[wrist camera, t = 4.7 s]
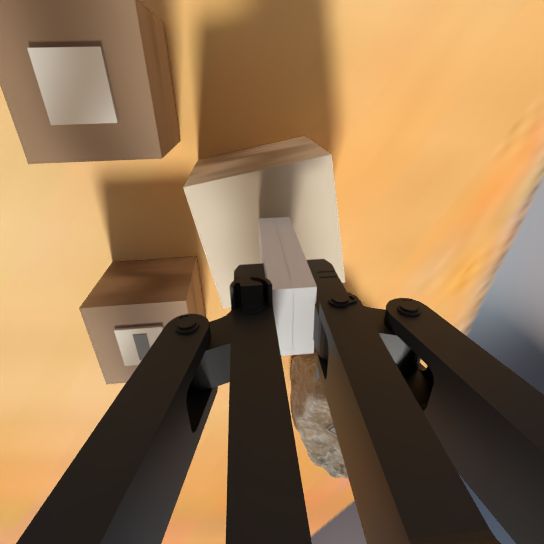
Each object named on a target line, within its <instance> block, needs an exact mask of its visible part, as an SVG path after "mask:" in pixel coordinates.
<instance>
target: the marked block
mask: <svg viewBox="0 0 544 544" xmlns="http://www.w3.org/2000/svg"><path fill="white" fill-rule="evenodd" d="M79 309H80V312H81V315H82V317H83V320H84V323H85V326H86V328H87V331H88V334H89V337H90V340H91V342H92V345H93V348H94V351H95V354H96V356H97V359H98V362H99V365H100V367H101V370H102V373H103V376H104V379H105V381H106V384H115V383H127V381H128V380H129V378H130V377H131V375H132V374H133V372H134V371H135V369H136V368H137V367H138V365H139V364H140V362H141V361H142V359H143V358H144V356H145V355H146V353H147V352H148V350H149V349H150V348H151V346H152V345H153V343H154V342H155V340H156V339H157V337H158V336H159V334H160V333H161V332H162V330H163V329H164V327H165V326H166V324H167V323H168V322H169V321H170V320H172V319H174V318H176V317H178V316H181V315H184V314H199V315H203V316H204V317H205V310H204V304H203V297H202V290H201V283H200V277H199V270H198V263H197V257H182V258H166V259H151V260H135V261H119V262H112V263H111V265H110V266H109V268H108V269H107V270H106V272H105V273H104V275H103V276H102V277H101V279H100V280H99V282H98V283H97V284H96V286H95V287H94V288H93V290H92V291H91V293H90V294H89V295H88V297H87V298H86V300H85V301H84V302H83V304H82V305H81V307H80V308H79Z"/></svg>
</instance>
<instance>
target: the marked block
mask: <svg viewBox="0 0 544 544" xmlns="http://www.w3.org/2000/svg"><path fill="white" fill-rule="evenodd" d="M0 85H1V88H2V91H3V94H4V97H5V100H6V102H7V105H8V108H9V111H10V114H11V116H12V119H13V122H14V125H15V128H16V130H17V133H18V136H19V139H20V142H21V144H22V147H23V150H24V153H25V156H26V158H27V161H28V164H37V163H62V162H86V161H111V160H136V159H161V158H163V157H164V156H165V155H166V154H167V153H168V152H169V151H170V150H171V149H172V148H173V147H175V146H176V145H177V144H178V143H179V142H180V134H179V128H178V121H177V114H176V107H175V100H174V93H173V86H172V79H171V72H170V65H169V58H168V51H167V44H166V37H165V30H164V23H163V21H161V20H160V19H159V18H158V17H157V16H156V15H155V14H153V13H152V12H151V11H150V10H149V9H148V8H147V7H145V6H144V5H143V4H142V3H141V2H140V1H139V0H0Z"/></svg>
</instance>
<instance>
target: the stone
mask: <svg viewBox="0 0 544 544" xmlns="http://www.w3.org/2000/svg"><path fill="white" fill-rule="evenodd" d="M316 360H317V349H316V347H314V353H312V354H299V355H297V356H295V357H294V358H293V359H292V362H291V370H290V380H291V397H290V399H291V412H292V418H293V421H294V425H295V428H296V429H297V430H298V432H299V433H300V436H301V439H302V441H303V443H304V445H305V447H306V448H307V453H308V456H309V457H310V459H311V461H312V462H313V463H314V464H315V465H317V466H320V467H322V468H324V469H325V470H326V471H327V472H328V473H329V474H330V476H332V477H334V478H340V477H344V478H348V474H347V470H346V467H345V463H344V460H343V456H342V453H341V449H340V446H339V442H338V438H337V435H336V431H335V428H334V424H333V421H332V417H331V413H330V410H329V406H328V403H327V399H326V396H325V392H324V388H323V385H322V381H321V378H320V375H319V380H316Z"/></svg>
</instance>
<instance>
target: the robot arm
mask: <svg viewBox="0 0 544 544" xmlns="http://www.w3.org/2000/svg"><path fill="white" fill-rule="evenodd" d="M258 225H259V248H260V263H259V264H243V265H239V266H238V267H237V268H236V269H235V270H234V281H233V282H232V283H231V284H230V287H229V288H230V299H231V311H230V313H228V314H227V315H226V316H224V317H222V318H220V319H217V320H214V321H211V322H209V321H208V319H207V318H206V317H204V316H203V315H199V314H184V315H181V316H178V317H176V318H174V319H172V320H170V321H169V322H168V323H167V324H166V326H165V327H164V329H163V330H162V332H161V333H160V334H159V336H158V337H157V339H156V340H155V342H154V343H153V345H152V346H151V348H150V349H149V350H148V352H147V353H146V355H145V356H144V358H143V359H142V361H141V362H140V364H139V365H138V367H137V368H136V369H135V371H134V372H133V374H132V375H131V377H130V378H129V380H128V381H127V383H126V384H125V386H124V387H123V388H122V390H121V391H120V393H119V394H118V396H117V397H116V399H115V400H114V402H113V403H112V405H111V406H110V407H109V409H108V410H107V412H106V413H105V415H104V416H103V418H102V419H101V421H100V422H99V423H98V425H97V426H96V428H95V429H94V431H93V432H92V434H91V435H90V437H89V438H88V440H87V441H86V442H85V444H84V445H83V447H82V448H81V450H80V451H79V453H78V454H77V456H76V457H75V459H74V460H73V461H72V463H71V464H70V466H69V467H68V469H67V470H66V472H65V473H64V475H63V476H62V477H61V479H60V480H59V482H58V483H57V485H56V486H55V488H54V489H53V491H52V492H51V494H50V495H49V496H48V498H47V499H46V501H45V502H44V504H43V505H42V507H41V508H40V510H39V511H38V513H37V514H36V515H35V517H34V518H33V520H32V521H31V523H30V524H29V526H28V527H27V529H26V530H25V532H24V533H23V534H22V536H21V537H20V539H19V540H18V542H17V543H16V544H161V543H162V540H163V537H164V534H165V532H166V529H167V526H168V524H169V521H170V518H171V515H172V513H173V510H174V507H175V505H176V502H177V499H178V496H179V494H180V491H181V488H182V486H183V483H184V480H185V478H186V475H187V472H188V469H189V467H190V464H191V461H192V459H193V456H194V453H195V450H196V448H197V445H198V442H199V440H200V437H201V434H202V431H203V429H204V426H205V423H206V421H207V418H208V415H209V412H210V410H211V407H212V404H213V402H214V399H215V396H216V394H217V389H218V386H219V385H222V384H225V383H228V382H230V392H229V434H228V475H227V517H226V544H312V543H311V537H310V530H309V524H308V518H307V512H306V506H305V500H304V494H303V488H302V482H301V476H300V470H299V463H298V457H297V451H296V445H295V439H294V433H293V427H292V421H291V415H290V409H289V402H288V396H287V390H286V384H285V378H284V372H283V366H282V360H281V356H286V355H299V354H312V353H314V343H315V346H316V349H317V360H316V380H319V375H320V378H321V381H322V385H323V388H324V392H325V396H326V399H327V403H328V406H329V410H330V413H331V417H332V421H333V424H334V428H335V431H336V435H337V438H338V442H339V446H340V449H341V453H342V456H343V460H344V463H345V467H346V470H347V474H348V478H349V481H350V485H351V488H352V492H353V495H354V499H355V503H356V506H357V510H358V513H359V517H360V520H361V524H362V528H363V531H364V535H365V538H366V542H367V544H501V543H500V542H499V541H498V540H497V539H496V538H495V536H494V535H493V533H492V532H491V530H490V529H489V527H488V525H487V523H486V522H485V520H484V518H483V516H482V515H481V513H480V511H479V509H478V508H477V506H476V504H475V502H474V501H473V499H472V497H471V495H470V494H469V492H468V490H467V489H466V486H465V485H464V483H463V481H462V479H461V478H460V476H461V477H462V478H463V479H464V481H465V482H466V483H467V484H468V485H469V487H470V488H471V489H472V490H473V491H474V493H475V494H476V495H477V496H478V498H479V499H480V500H481V501H482V502H483V504H484V505H485V506H486V507H487V508H488V510H489V511H490V512H491V513H492V515H493V516H494V517H495V518H496V519H497V521H498V522H499V523H500V524H501V525H502V527H503V528H504V529H505V530H506V532H507V533H508V534H509V535H510V536H511V538H512V539H513V540H514V541H515V542H516V544H544V395H543V394H542V393H540V392H539V391H538V390H536V389H535V388H534V387H532V386H531V385H530V384H529V383H527V382H526V381H525V380H523V379H522V378H521V377H519V376H518V375H517V374H515V373H514V372H513V371H512V370H510V369H509V368H508V367H506V366H505V365H504V364H502V363H501V362H500V361H498V360H497V359H495V358H494V357H493V356H492V355H490V354H489V353H488V352H487V351H485V350H484V349H482V348H481V347H480V346H479V345H477V344H476V343H475V342H473V341H472V340H471V339H469V338H468V337H467V336H465V335H464V334H463V333H462V332H460V331H459V330H458V329H456V328H455V327H454V326H452V325H451V324H450V323H448V322H447V321H446V320H444V319H443V318H442V317H440V316H439V315H438V314H437V313H435V312H434V311H433V310H431V309H430V308H429V307H427V306H426V305H424V304H423V303H421V302H419V301H416V300H413V299H409V298H398V299H393V300H391V301H389V302H388V303H387V305H386V310H383V309H375V308H369V307H365V306H363V305H362V303H361V301H360V300H359V299H358V298H357V297H356V296H355V295H353V294H351V293H348V292H346V290H345V288H344V286H343V284H342V282H341V280H340V278H339V277H338V275H337V273H336V272H335V269H334V267H333V265H332V264H331V263H329V262H328V261H327V260H325V259H312V260H306V258H305V255H304V253H303V250H302V248H301V245H300V243H299V240H298V238H297V235H296V233H295V230H294V228H293V225H292V223H291V220H290V218H289V217H278V218H258ZM420 359H422V360H423V361H424V362H425V363H426V364H427V365H428V367H427V368H425V367H424V366H423V365H422V364H421V363H420ZM458 473H459V474H458ZM459 475H460V476H459Z"/></svg>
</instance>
